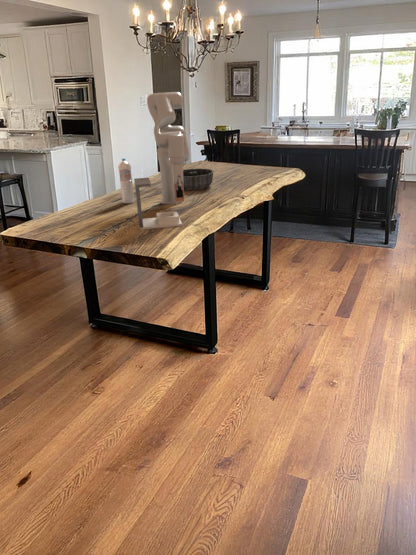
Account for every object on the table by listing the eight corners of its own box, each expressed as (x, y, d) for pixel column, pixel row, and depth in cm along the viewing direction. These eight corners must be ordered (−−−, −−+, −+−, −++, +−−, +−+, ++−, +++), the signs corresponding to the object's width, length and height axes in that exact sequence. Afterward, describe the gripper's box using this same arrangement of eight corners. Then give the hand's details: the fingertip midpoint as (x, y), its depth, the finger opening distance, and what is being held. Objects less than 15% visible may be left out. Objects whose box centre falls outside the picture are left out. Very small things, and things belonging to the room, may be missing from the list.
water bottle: (123, 204, 264) (118, 160, 254) (122, 202, 270) (116, 158, 260) (135, 203, 266) (130, 159, 256) (133, 200, 272) (129, 157, 262)
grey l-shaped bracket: (138, 219, 232) (134, 178, 224) (152, 217, 233) (148, 177, 225) (139, 227, 218) (135, 184, 210) (154, 226, 219) (150, 183, 211)
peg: (174, 199, 240) (173, 182, 236) (183, 198, 241) (182, 181, 237) (175, 201, 236) (174, 184, 232) (184, 201, 237) (183, 183, 233)
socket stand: (138, 221, 232) (137, 213, 230) (178, 217, 235) (177, 209, 233) (140, 229, 218) (139, 221, 217) (182, 225, 221) (181, 217, 220)
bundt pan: (167, 192, 289) (165, 176, 285) (181, 183, 312) (180, 168, 308) (207, 193, 282) (206, 176, 278) (219, 183, 305) (218, 168, 301)
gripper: (167, 157, 236) (170, 192, 244) (171, 164, 221) (173, 201, 229) (182, 156, 238) (184, 191, 245) (186, 162, 223) (188, 199, 230)
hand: (179, 195), depth 237 cm, fingers closed on peg, 4 cm apart
